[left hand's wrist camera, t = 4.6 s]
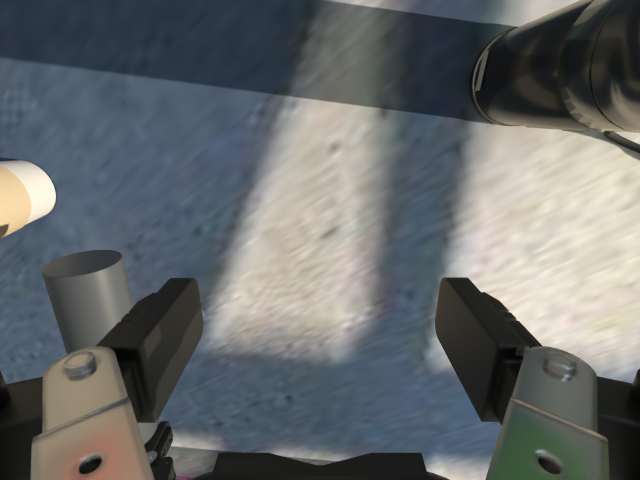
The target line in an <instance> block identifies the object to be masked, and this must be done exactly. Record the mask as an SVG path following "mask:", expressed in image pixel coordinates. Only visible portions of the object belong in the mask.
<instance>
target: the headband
mask: <svg viewBox="0 0 640 480" xmlns="http://www.w3.org/2000/svg"><path fill="white" fill-rule="evenodd" d="M191 479H193V478H186V477H178V476H176V480H191Z"/></svg>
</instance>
